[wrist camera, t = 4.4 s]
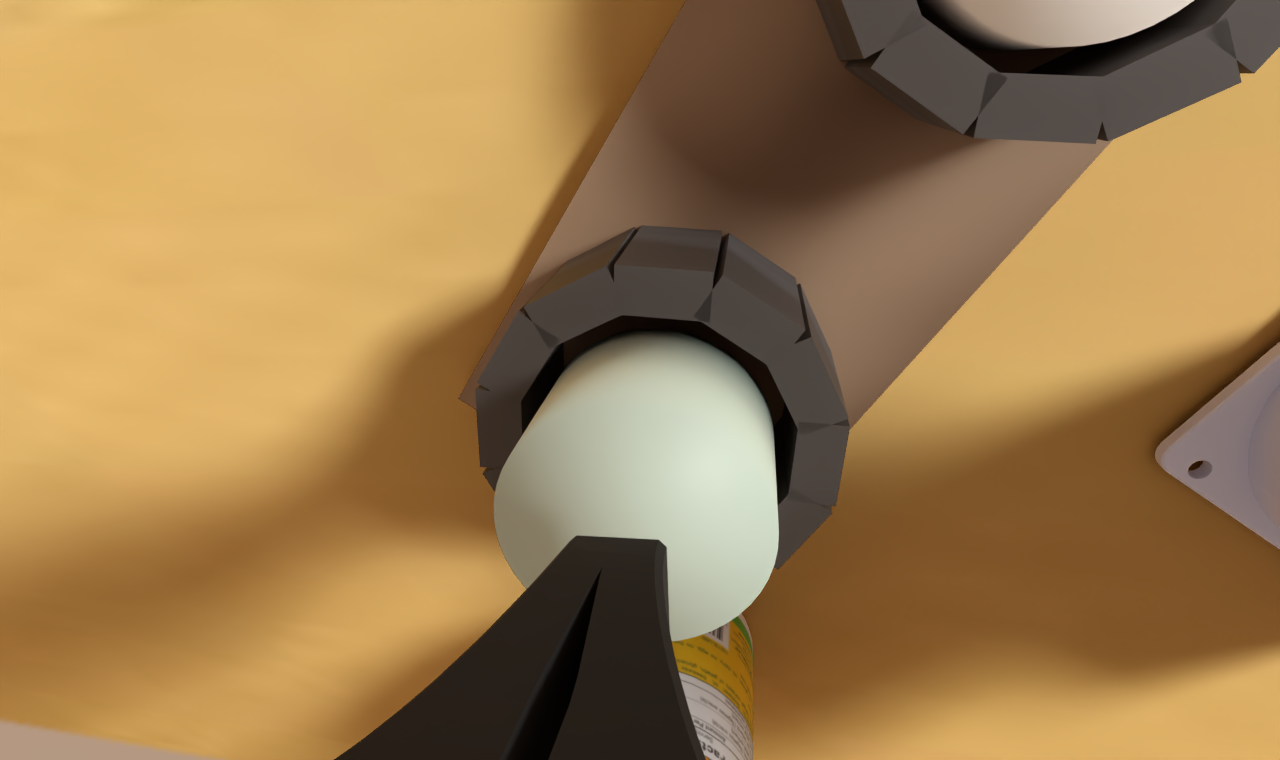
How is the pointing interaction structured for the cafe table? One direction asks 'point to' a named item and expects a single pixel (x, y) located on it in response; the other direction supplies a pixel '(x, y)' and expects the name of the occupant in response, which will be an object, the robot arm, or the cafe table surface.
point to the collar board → (829, 202)
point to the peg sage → (651, 471)
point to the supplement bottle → (720, 688)
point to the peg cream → (1043, 21)
